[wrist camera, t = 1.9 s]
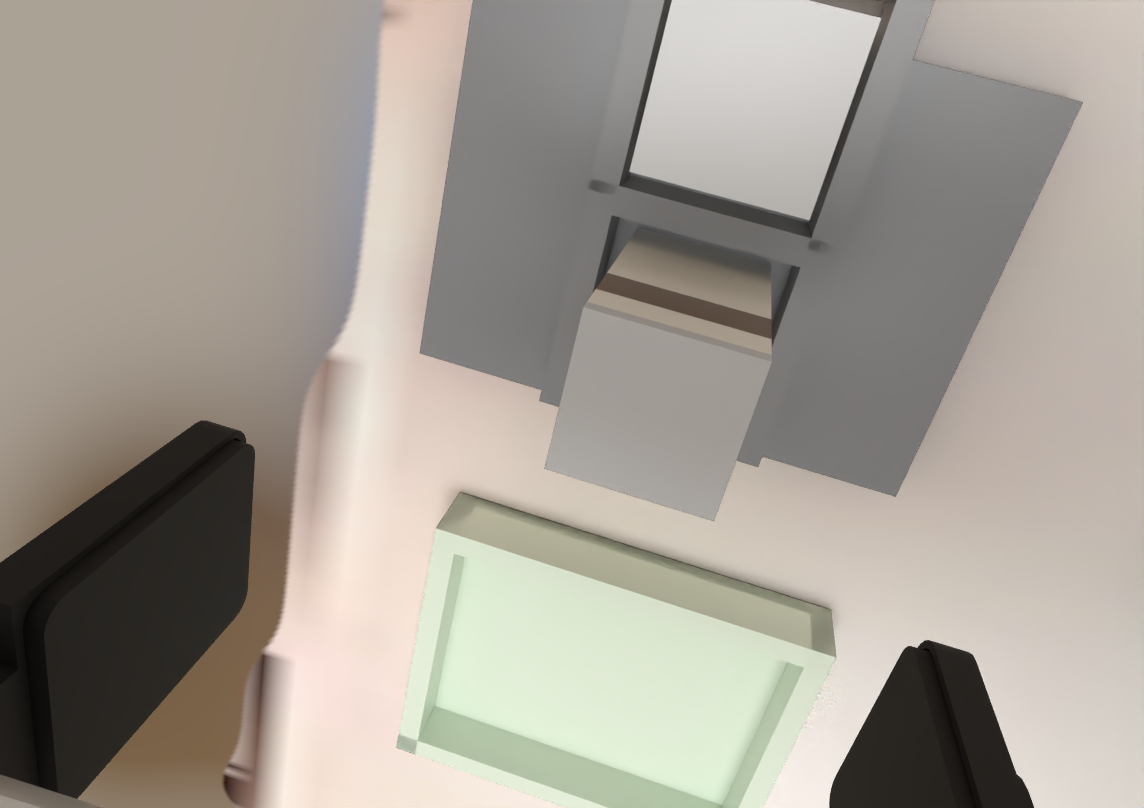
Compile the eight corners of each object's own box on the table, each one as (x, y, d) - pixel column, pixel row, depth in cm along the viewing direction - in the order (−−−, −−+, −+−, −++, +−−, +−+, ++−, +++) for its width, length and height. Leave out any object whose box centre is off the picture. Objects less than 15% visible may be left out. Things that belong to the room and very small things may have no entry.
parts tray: (831, 610, 29) (836, 657, 27) (736, 812, 34) (734, 867, 32) (460, 492, 31) (435, 528, 28) (419, 702, 35) (396, 747, 33)
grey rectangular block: (770, 264, 24) (771, 361, 17) (729, 385, 26) (714, 521, 18) (638, 227, 24) (583, 307, 17) (605, 350, 26) (544, 468, 19)
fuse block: (1106, 20, 21) (1247, 14, 15) (891, 481, 27) (927, 611, 21) (503, -123, 22) (403, -183, 16) (430, 343, 28) (338, 426, 22)
